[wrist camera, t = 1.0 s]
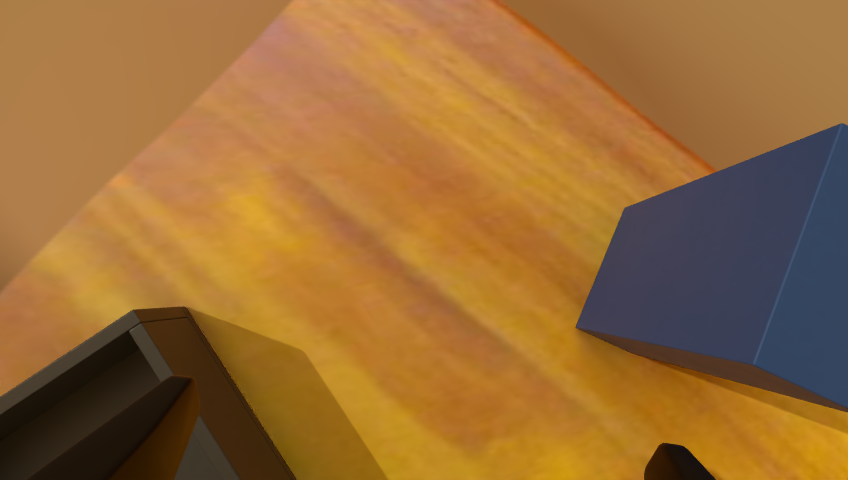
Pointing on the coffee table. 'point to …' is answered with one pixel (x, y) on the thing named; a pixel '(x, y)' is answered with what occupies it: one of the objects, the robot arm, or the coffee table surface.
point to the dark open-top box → (126, 382)
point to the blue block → (739, 273)
